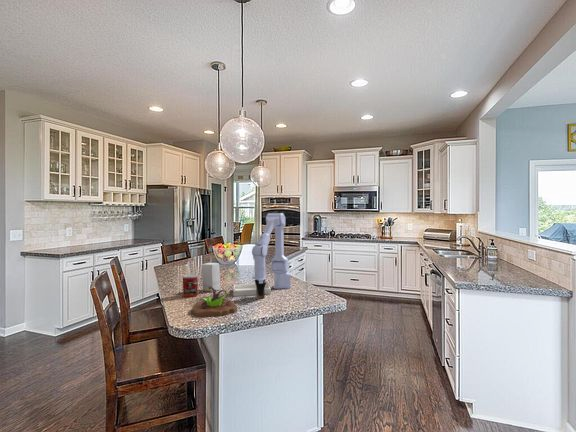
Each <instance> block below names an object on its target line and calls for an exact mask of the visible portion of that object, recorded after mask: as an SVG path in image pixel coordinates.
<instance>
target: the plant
mask: <svg viewBox="0 0 576 432" xmlns="http://www.w3.org/2000/svg"><path fill="white" fill-rule="evenodd" d="M211 288H212V287H208V288H207V291H206V292H210V291H209V290H210V289H211ZM212 290H213V292H212V295H211V297H210V296H207V298H206V297H205V298H204V297H203V298H202V299H203V301H200V302H198V303H195V304H194V305H193V306H192V308H191V314H192V315H193V316H194V315H195V318H207V317H208V318H210V317H223V316H228V315H230V314H235V313H237V312H238V306H237V305H236V303H235V301H233V300H230V299H226V298H225V297H226V296H227V295H228V291H227V290H225V289H222V290H221V289H220V290H218V291H217V290H215V289H214V288H212ZM221 292H224V294H225V295H223V296H221V297H220V294H221Z"/></svg>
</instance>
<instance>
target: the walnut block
mask: <svg viewBox="0 0 576 432" xmlns="http://www.w3.org/2000/svg"><path fill="white" fill-rule="evenodd" d="M265 295H266V294H265V288H264V293H263V296H259V295H258V289H257V286H256V295H255V296H256V300H260V299H264V300H265V298H266V296H265Z"/></svg>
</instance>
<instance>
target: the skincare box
mask: <svg viewBox="0 0 576 432" xmlns="http://www.w3.org/2000/svg"><path fill="white" fill-rule="evenodd" d="M220 273H221V272H220V263H219V262H206V263H202V264H201V275H202V277H201V278H202V279H201V280H202V291H204V292H210V293H211V292H212V293H213V290H212V288H214V289H215V290H217V292H219V291H221V275H220ZM208 287H212V288H211V289H210V290H209V291H207V288H208Z"/></svg>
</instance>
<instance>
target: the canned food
mask: <svg viewBox="0 0 576 432" xmlns="http://www.w3.org/2000/svg"><path fill="white" fill-rule="evenodd" d="M198 281H199V278H198V274H196V273H195V274H194V273H191V274H189V273H188V274H184V275H183V276H182V294H183V295H182V296H183V298H185V299H186V298H188V299H190V297H191V298H196V297H198V294H199V288H198V287H199V286H198V285H199V284H198V283H199V282H198Z"/></svg>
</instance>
